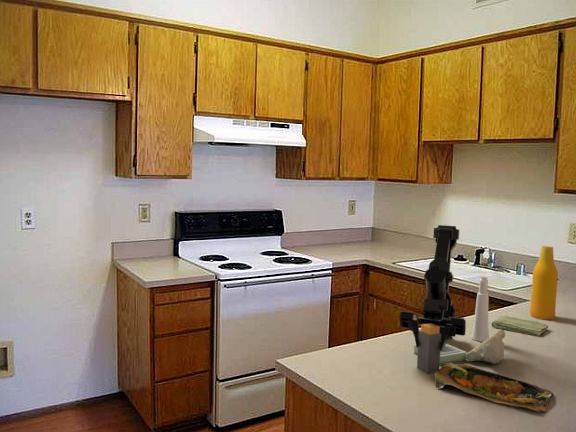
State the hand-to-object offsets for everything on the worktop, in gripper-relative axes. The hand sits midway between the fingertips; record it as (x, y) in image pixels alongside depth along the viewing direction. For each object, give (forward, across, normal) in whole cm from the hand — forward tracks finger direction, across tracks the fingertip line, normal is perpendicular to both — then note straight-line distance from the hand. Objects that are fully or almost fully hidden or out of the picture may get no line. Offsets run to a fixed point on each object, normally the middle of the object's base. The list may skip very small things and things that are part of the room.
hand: (428, 348), depth 152 cm
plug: (+4, 0, +6) cm, 7 cm away
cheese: (-9, +16, +18) cm, 26 cm away
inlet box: (-5, +2, +15) cm, 16 cm away
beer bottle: (-54, +35, +64) cm, 91 cm away
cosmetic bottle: (-23, +13, +32) cm, 42 cm away
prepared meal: (+9, +17, +1) cm, 20 cm away
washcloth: (-38, +26, +48) cm, 66 cm away
